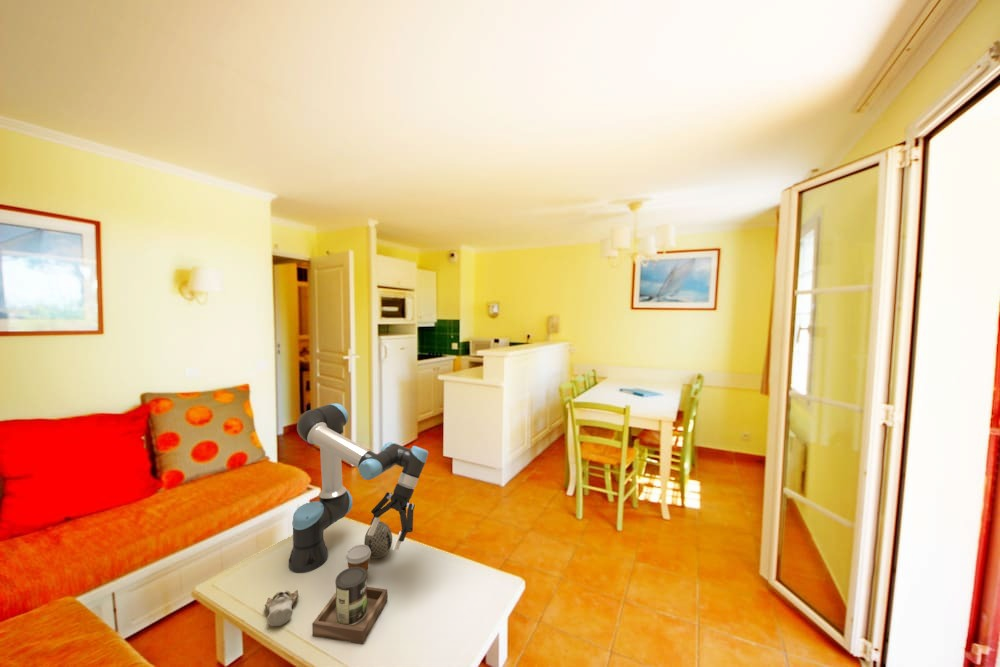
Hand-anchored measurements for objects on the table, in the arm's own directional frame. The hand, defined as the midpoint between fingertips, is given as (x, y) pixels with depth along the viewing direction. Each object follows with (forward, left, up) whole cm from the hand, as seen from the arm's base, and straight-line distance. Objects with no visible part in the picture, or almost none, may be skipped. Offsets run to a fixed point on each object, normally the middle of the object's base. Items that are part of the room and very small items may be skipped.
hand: (382, 542), depth 140 cm
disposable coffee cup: (-4, -12, -20) cm, 24 cm away
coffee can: (+13, -5, -19) cm, 24 cm away
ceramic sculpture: (+15, -31, -20) cm, 40 cm away
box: (+13, -5, -20) cm, 24 cm away
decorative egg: (-19, -11, -20) cm, 30 cm away
